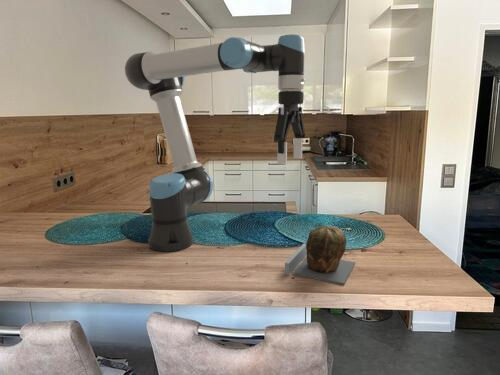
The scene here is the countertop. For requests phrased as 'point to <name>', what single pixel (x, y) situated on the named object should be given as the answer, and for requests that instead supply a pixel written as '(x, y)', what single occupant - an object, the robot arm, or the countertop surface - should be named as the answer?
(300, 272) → the pad
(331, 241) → the brown rounded lump
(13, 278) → the countertop surface
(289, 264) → the acrylic wall
